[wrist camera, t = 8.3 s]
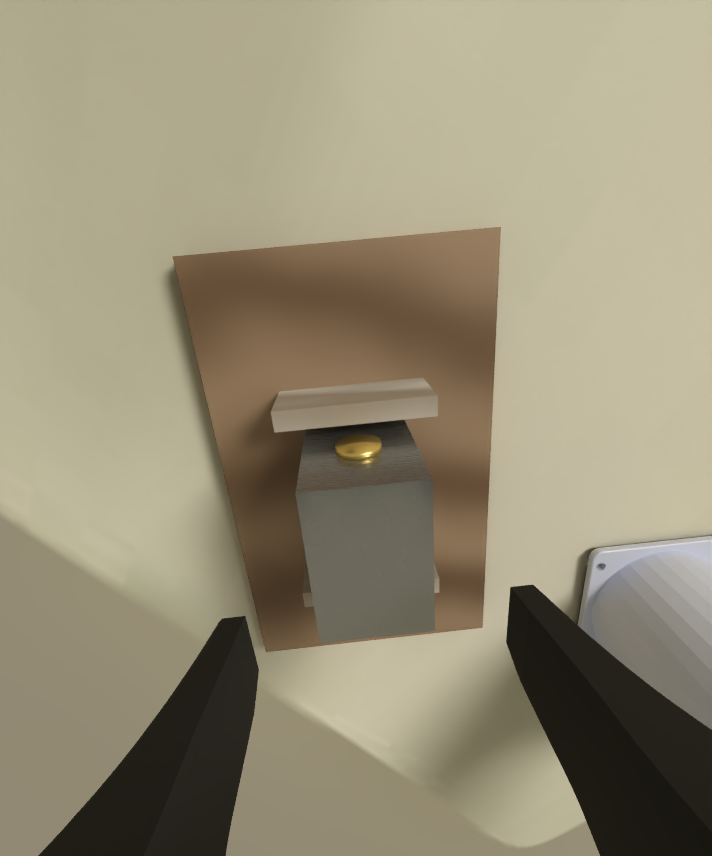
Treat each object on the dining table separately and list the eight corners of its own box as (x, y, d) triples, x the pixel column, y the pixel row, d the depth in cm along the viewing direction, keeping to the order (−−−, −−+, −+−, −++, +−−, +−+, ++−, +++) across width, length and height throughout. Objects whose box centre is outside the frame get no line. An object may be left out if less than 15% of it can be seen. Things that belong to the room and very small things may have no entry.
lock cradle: (476, 613, 23) (500, 669, 20) (268, 636, 23) (258, 697, 20) (490, 229, 16) (532, 219, 12) (182, 257, 15) (142, 254, 12)
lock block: (405, 526, 20) (435, 630, 14) (323, 535, 19) (319, 643, 14) (399, 405, 17) (432, 471, 12) (306, 414, 17) (294, 486, 12)
